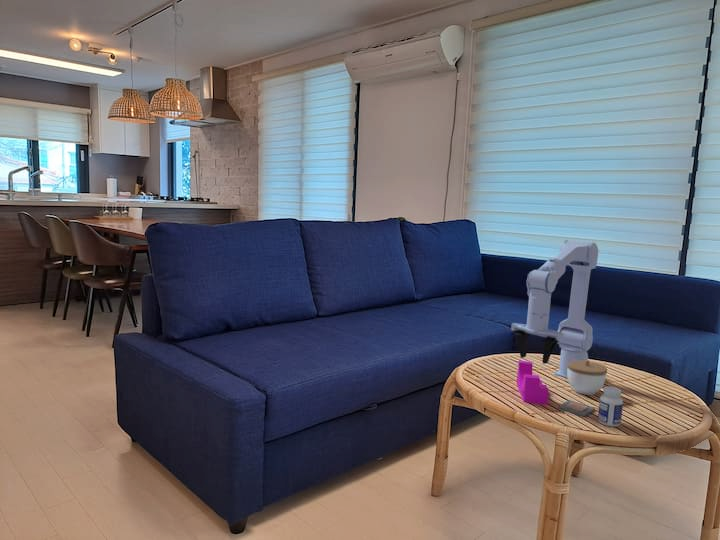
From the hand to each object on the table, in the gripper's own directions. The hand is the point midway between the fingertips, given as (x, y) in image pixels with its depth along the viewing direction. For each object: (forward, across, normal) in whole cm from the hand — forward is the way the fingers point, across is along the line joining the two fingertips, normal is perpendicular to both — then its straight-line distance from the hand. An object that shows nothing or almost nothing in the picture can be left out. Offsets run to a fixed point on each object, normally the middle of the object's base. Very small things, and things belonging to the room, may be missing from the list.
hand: (534, 359), depth 144 cm
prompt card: (+10, +13, 0) cm, 17 cm away
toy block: (+11, 0, +1) cm, 11 cm away
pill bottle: (+11, +22, -2) cm, 25 cm away
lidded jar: (+11, +9, +16) cm, 21 cm away
